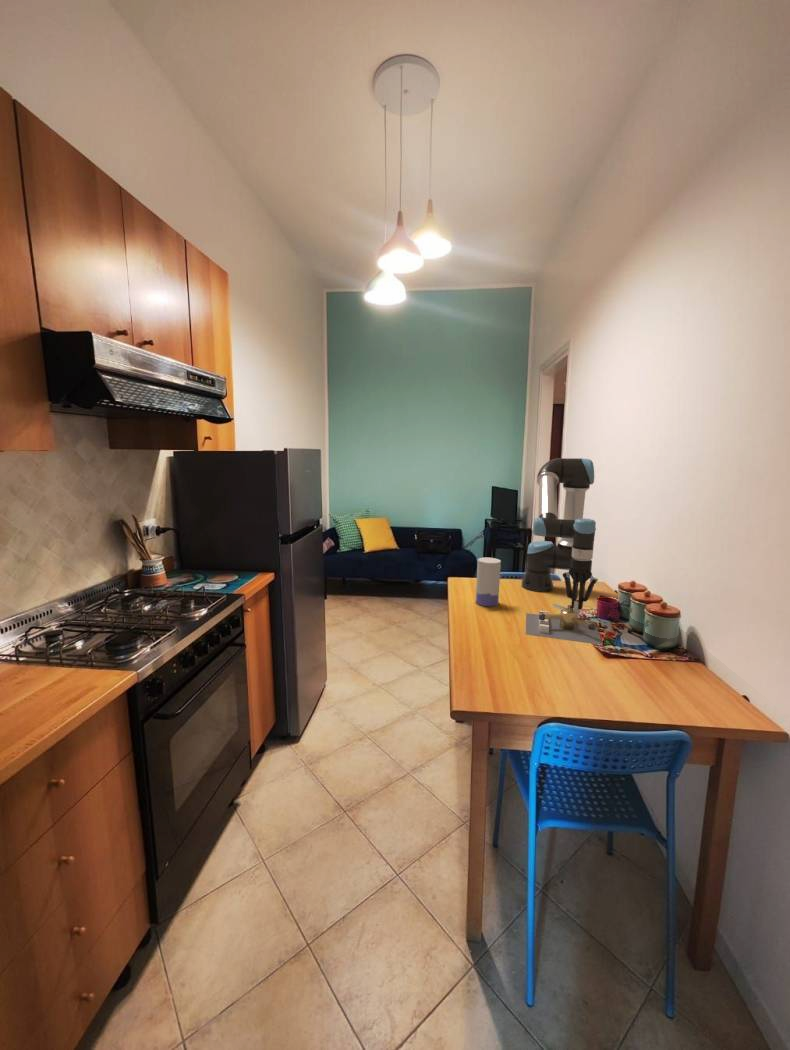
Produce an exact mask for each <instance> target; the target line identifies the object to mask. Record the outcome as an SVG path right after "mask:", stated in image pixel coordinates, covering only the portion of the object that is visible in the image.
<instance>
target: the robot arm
mask: <svg viewBox="0 0 790 1050" xmlns="http://www.w3.org/2000/svg"><path fill="white" fill-rule="evenodd" d="M536 476H537V478H536V482H537V484H538V515H537V517H535V518H533V524H532V525H533V529H532V533H533V534H532V535H534V536H538V537H547V538H548V537H549V538H561V539H559V540H558V541H557V544H556V545H555V544H554V543H553V542H552V541H550V540H549V541H547V540H540V541H539V540H537V541H533V542H530V543H529V544H528V546H527V552H526V554H527V559H526V566H525V567H526V568H525V573H524V575H523V577H522V580H521V587H522V588H523V589H525V590H527V591H533V592H539V593H540V592H541V593H542V592H543V593H544V592H546V593H547V592H551V591H553V589H554V583H553V582H554V581H553V578H552V574H551V570H552V569H553V570H555V569H556V570H565V572H564V573H562V578H563V579H564V583H565V589H566V596H567V598H568V599H570V600H571V607H572V608H573V611H574V612H575V613H576V614H575V617H577V618H579V617H580V613H581V612H580V611H582V609H583V607H584V602H585V603H586V602H587V601H588V600H590V597H591V594H592V592H593V589H594V586H595V584H596V583H597V582H598V581H599V579H598V578H597V577H596V578H595V577H594V576H593V573H592V566H593V561H592V559H593V555H594V543H595V534H596V531H597V529H596V521H595V520H594V519H592V518H584V510H585V499H586V492H587V491H588V490H589V489H590V487H591V485H593V484H594V483H595V466H594V463H593V461H592V459H588V458H580V457H579V458H577V457H576V458H574V457H573V458H571V457H570V458H566V457H565V458H564V457H563V458H561V457H558V458H557V457H556V458H553V459H550V460H548V461H547V462H546V463H544V464H543V466H541V468H540V469H539V470H538V473H537V475H536ZM558 484H562V487H563V489H564V490H565V500H564V507H563V519H561V518H558V489H557V487H558ZM566 571H567V572H566ZM571 579H572V582H571ZM588 580H589V585H588V587H587V589H586V583H587V582H588ZM578 590H579V591H578ZM585 590H586V591H585Z"/></svg>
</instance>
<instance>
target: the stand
mask: <svg viewBox="0 0 790 1050" xmlns="http://www.w3.org/2000/svg"><path fill="white" fill-rule="evenodd" d="M540 613H543V614H548V613H549V612H548V611H545V610H538V614H534V613H528V612H526V613H525V635H528V636H534V637H535V636H536V637H541V638H542V637H543V638H548V639H556V640H563V641H570V642H578V643H586V644H593V645H600V646H604V644H603V641H602V639H601V636H600V633H599V630H598V628H597V627H598V626H597V625H596V623H595V621H594V620H593V621H592V620H585V619H584V620H585V621H587V622H593V623H595V630H591V629H589V628H588V627H586V626H584V625H581V624H578V623H576V622H575V624H574V629H564V628H561V627H560V619H545V620H539V614H540Z"/></svg>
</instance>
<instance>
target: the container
mask: <svg viewBox="0 0 790 1050" xmlns="http://www.w3.org/2000/svg"><path fill="white" fill-rule="evenodd" d="M501 564H502V560H501V559H498V558H495V557H487V556H486V557H480V558H477V568H476V570H477V571H476V587H475V603H476V604H478V605H480V606H482V607H489V608H490V607H497V606H498V605H499V597H500V596H499V595H500V584H501V583H500V580H501Z"/></svg>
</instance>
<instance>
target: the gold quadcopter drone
mask: <svg viewBox="0 0 790 1050" xmlns="http://www.w3.org/2000/svg"><path fill="white" fill-rule="evenodd" d="M571 605H572V604H571ZM571 605H570V604H568V605H567V607H564V606H561V605H558V604H555V603H552V608H556V609H557V610H560V613H559V614H558V613H557V614H556V613H555V614H553V613H552V614H551V613H549V614H543V613H540V614H539V613H538V615H539V620H545V619H560V627H561V628H564V629H574V624H575V622H576V623H578V624H581V625H584V626H586V627H588V628H589V629H591V630H595V625H596V623H593V622H587V621H588V620H586V621H585V619H582V618H579V617H575V614H576V613H575V612H574V608H572V607H571Z"/></svg>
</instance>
